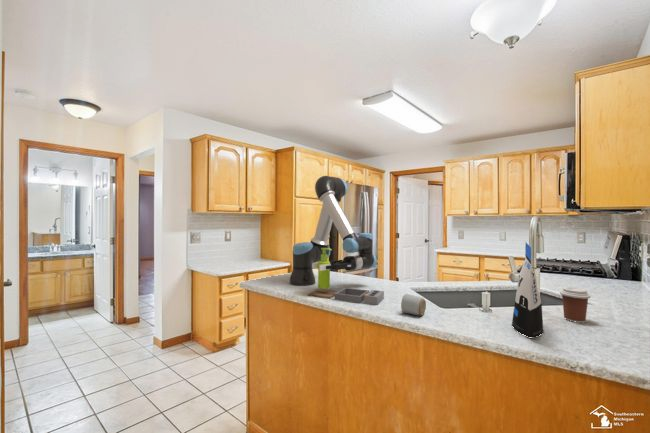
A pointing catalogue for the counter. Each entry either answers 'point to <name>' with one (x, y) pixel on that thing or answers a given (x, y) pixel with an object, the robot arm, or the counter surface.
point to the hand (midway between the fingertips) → (316, 266)
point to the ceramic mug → (413, 305)
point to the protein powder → (527, 301)
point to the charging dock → (360, 296)
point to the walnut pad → (323, 293)
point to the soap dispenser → (324, 271)
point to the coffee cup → (575, 303)
